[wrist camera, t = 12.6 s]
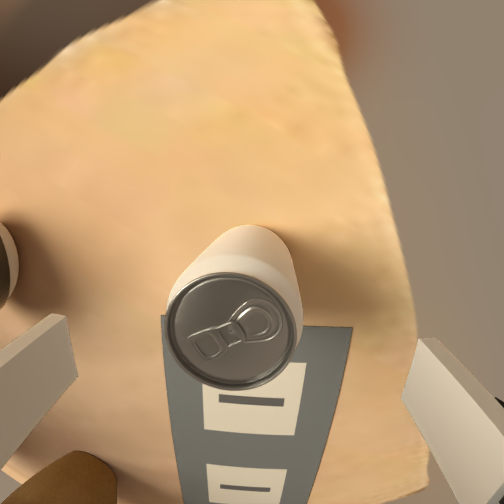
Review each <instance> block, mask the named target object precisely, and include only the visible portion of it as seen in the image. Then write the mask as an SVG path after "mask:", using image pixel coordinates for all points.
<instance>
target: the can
mask: <svg viewBox="0 0 504 504" xmlns="http://www.w3.org/2000/svg"><path fill="white" fill-rule="evenodd" d="M302 329H303V308H302V301H301V296H300V292H299V287H298V282H297V278H296V274H295V269H294V265H293V261H292V257H291V255H290V252H289V250H288V248H287V246H286V245H285V244H284V242H283V241H282V240H281V239H280V238H279V237H278V236H277V235H276V234H275V233H274V232H272V231H270V230H269V229H266V228H264V227H261V226H256V225H241V226H237V227H234V228H231V229H229V230H227V231H226V232H224V233H223V234H222V235H220V236H219V237H218V238H217V239H216V240H215V241H214V242H213V243H212V244H211V245H210V246H208V247H207V248H206V249H205V250H204V251H203V252H202V253H201V254H200V255H199V256H198V257H197V258H196V259H195V260H194V261H193V262H192V263H191V264H190V265H189V266H188V267H187V268H186V270H185V271H184V272H183V273H182V274H181V275H180V277H179V278H178V279H177V281H176V282H175V284H174V286H173V288H172V290H171V292H170V295H169V298H168V302H167V310H166V316H165V322H164V333H165V339H166V343H167V346H168V349H169V351H170V353H171V355H172V357H173V358H174V360H175V361H176V362H177V364H178V365H179V366H180V367H181V368H182V369H183V370H184V371H185V372H186V373H187V374H188V375H189V376H191V377H192V378H194V379H195V380H197V381H199V382H200V383H202V384H205V385H207V386H210V387H213V388H216V389H221V390H227V391H243V390H249V389H254V388H257V387H260V386H262V385H264V384H267V383H268V382H270V381H272V380H273V379H275V378H276V377H277V376H278V375H279V374H281V373H282V372H283V370H284V369H285V368H286V367H287V365H288V364H289V362H290V361H291V359H292V357H293V354H294V351H295V349H296V347H297V345H298V343H299V341H300V338H301V334H302Z"/></svg>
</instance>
